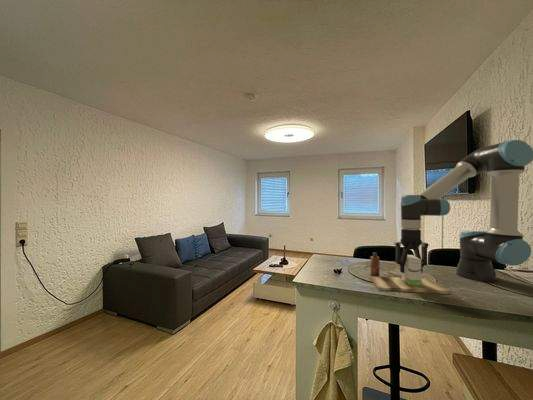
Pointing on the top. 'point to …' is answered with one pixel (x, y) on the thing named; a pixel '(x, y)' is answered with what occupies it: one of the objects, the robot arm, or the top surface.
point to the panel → (407, 285)
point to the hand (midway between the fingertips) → (411, 279)
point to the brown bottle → (375, 265)
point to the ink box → (413, 270)
